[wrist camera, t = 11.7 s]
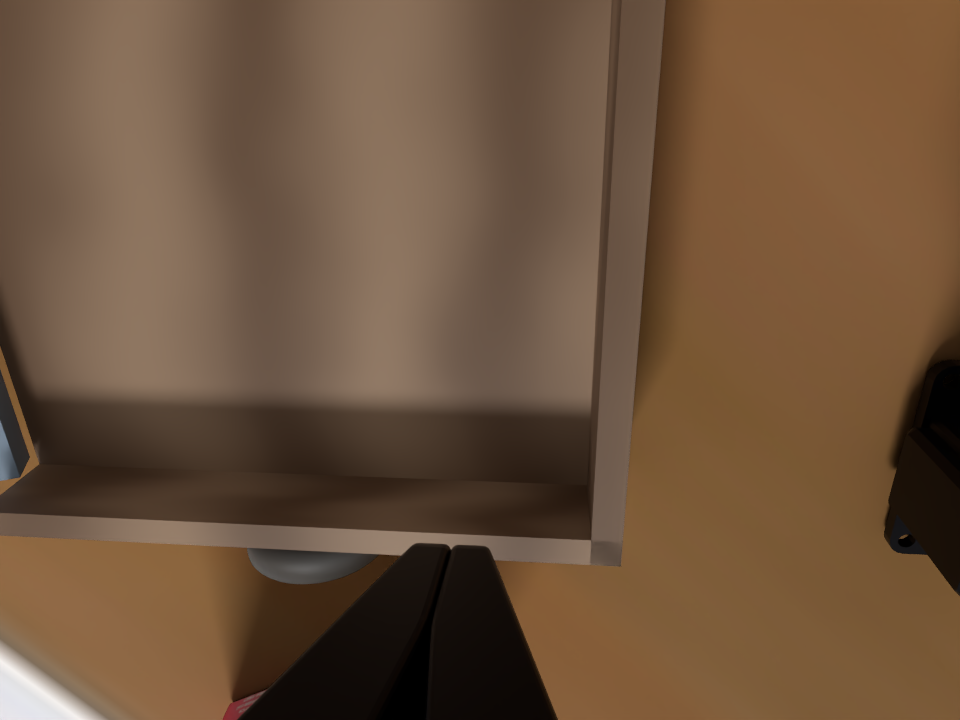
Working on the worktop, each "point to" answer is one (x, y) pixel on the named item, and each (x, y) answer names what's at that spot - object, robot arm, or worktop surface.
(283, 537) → the tray
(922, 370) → the worktop surface
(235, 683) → the worktop surface
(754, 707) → the worktop surface
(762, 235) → the worktop surface
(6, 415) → the tailgate
